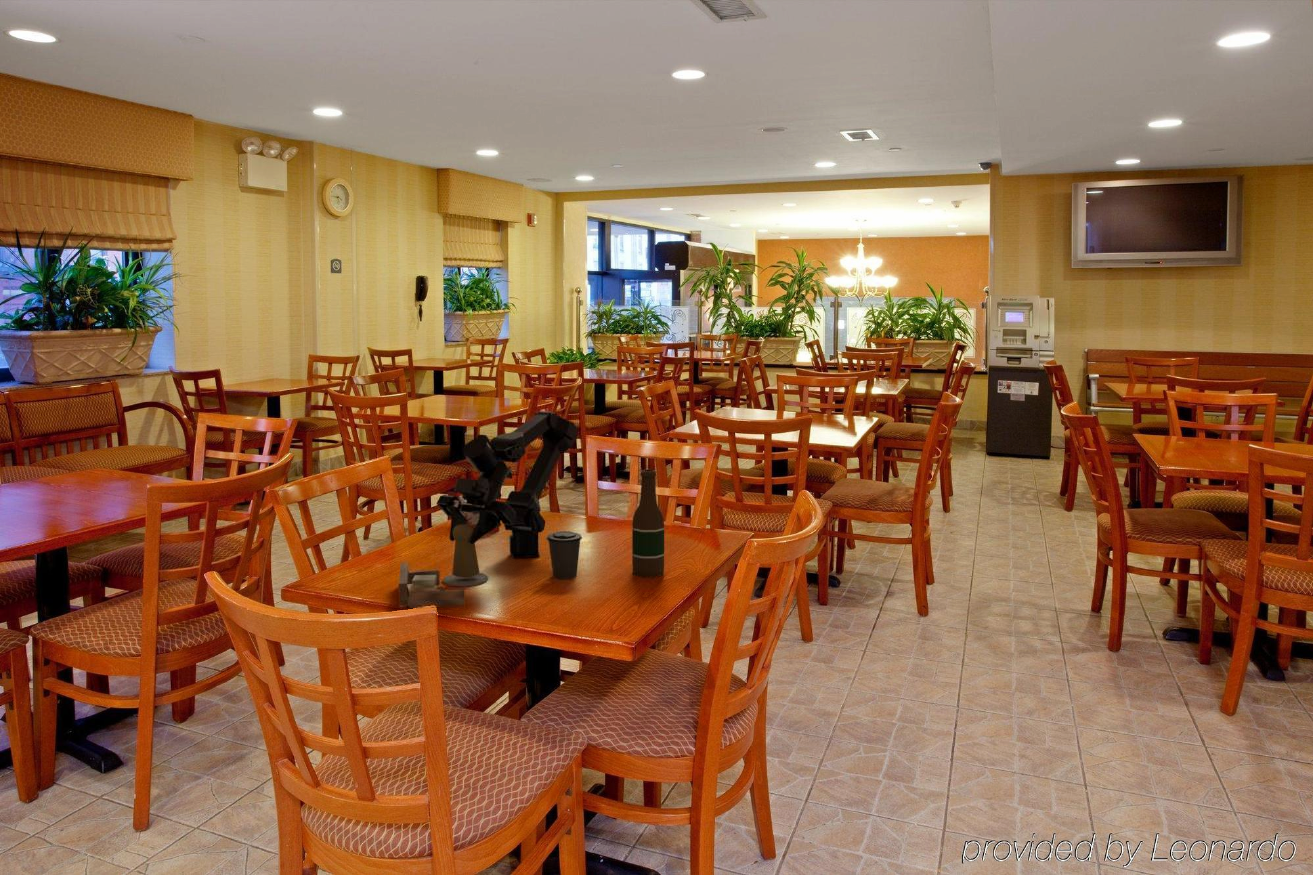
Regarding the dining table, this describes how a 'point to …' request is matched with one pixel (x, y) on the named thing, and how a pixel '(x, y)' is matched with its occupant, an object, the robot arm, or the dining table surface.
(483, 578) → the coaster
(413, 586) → the rack
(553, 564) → the coffee cup
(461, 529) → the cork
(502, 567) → the dining table surface
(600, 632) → the dining table surface
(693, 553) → the dining table surface
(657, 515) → the beer bottle
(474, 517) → the medicine box
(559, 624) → the dining table surface
